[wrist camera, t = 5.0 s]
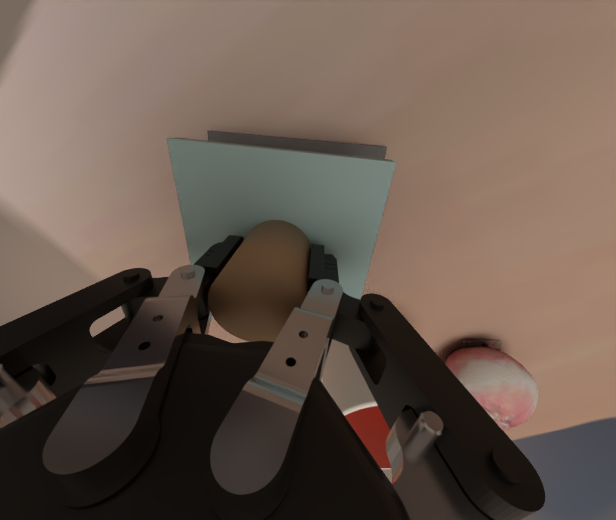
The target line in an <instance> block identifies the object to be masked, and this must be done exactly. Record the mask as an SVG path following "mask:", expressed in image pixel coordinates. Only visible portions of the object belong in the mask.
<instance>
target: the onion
mask: <svg viewBox="0 0 616 520" xmlns="http://www.w3.org/2000/svg"><path fill="white" fill-rule="evenodd" d="M478 341H484V343H483V344H482V345H484V346H486V347H479V346H477V347H476V346H474V347H465V348H462V349H458V350H456V351H454V352H453V353H452V354H451V355H450V356H448V359H447V360H446V363H445V365H446V366H447V367H448V368H449V369H450V370H451V372H452V373H453V374H454V375H455V376H456V377H457V378H458V380H459V381H460V382H461V383H462V384H463V385H464V387H465V388H466V389H467V390H468V391H469V392H470V393H471V395H472V396H473V397H474V398H475V399H476V400H477V401H478V403H479V404H480V405H481V406H482V407H483V408H484V410H485V411H486V412H487V413H488V414H489V415H490V416H491V418H492V419H493V420H494V421H495V422H496V423H497V424H498V426H499V427H500V428H501V429H502V430H509V428H510V427H515V426H518V425H520V424H522V423H524V422H525V421H526V420H528V419H529V418H530V416H531V415H532V414H533V412H534V410H535V408H536V404H537V399H538V390H537V384H536V381H535V380H534V378H533V377H532V375H531V374H530V373H529V372H528V371H527V370H526V369H525V368H524V367H523V366H522V365H521V364H520V363H519V362H518V361H516V360H515V359H513V358H512V357H511V356H509V355H507V354H505V353H503V352H501V351H500V344H501V341H500V340H478ZM478 341H475V340H473V341H464V340H462V342H463V343H465V342H466V343H468V344H469V343H472V342H478Z"/></svg>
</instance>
